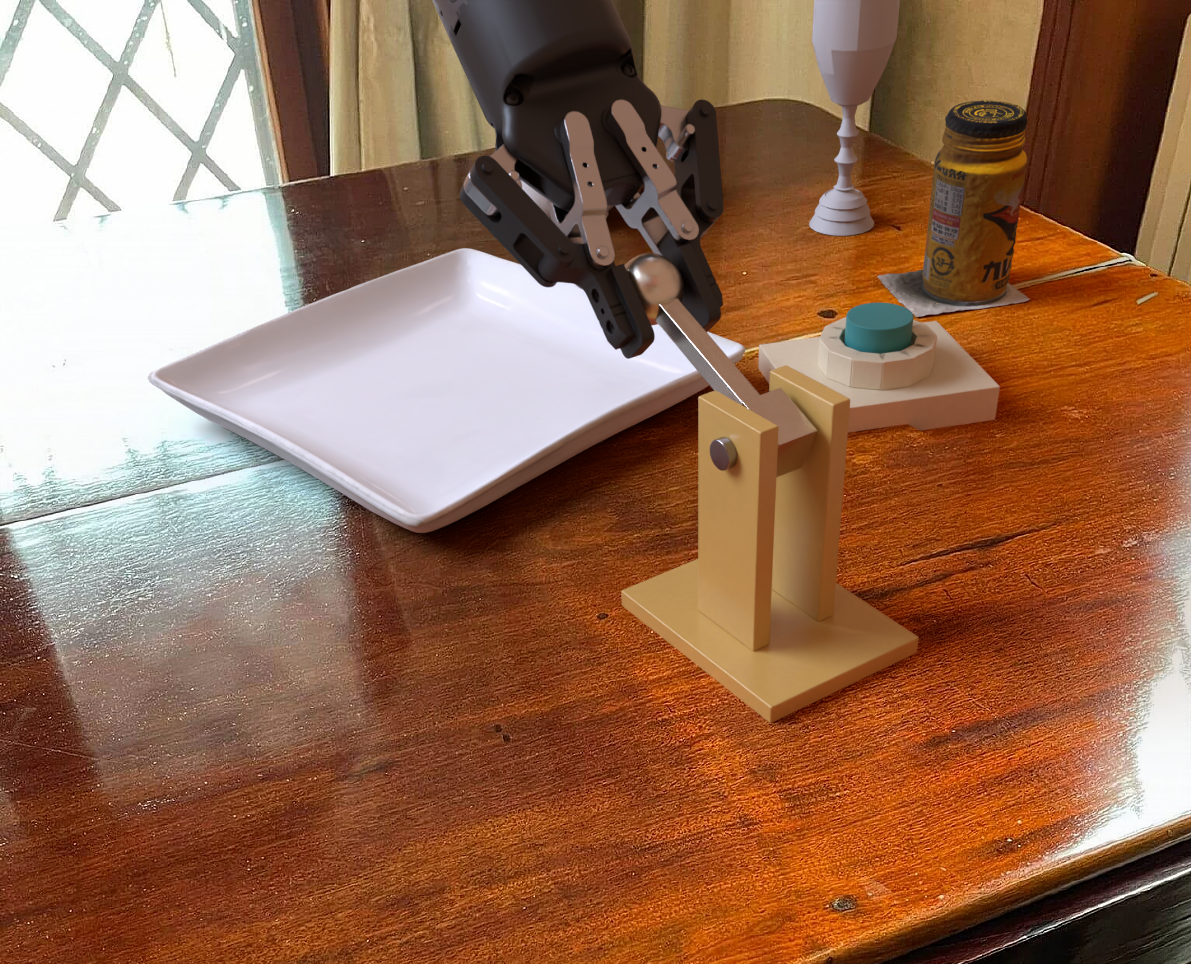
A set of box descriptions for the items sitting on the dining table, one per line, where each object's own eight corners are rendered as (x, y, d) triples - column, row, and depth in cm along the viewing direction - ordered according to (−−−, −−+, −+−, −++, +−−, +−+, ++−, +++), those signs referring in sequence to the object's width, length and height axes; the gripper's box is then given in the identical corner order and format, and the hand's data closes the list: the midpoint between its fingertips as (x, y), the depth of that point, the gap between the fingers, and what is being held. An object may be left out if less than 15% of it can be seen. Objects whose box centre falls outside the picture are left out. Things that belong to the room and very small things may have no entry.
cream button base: (932, 352, 93) (939, 293, 90) (995, 420, 85) (1004, 357, 83) (757, 376, 91) (759, 317, 89) (805, 447, 84) (809, 385, 81)
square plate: (152, 426, 90) (136, 368, 88) (471, 292, 104) (465, 239, 101) (423, 577, 75) (413, 513, 73) (753, 397, 89) (755, 338, 87)
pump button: (896, 326, 88) (899, 298, 86) (920, 352, 85) (923, 324, 84) (835, 334, 87) (837, 307, 86) (857, 361, 84) (859, 333, 83)
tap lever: (597, 303, 67) (609, 248, 64) (652, 286, 68) (665, 231, 66) (753, 492, 63) (772, 441, 60) (808, 470, 64) (829, 419, 61)
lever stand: (621, 614, 72) (611, 379, 63) (759, 556, 75) (767, 325, 67) (769, 733, 64) (781, 483, 56) (916, 662, 68) (948, 416, 59)
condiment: (1030, 302, 98) (1059, 119, 90) (916, 319, 97) (935, 135, 89) (984, 265, 103) (1008, 88, 95) (876, 280, 102) (891, 103, 94)
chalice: (834, 247, 107) (851, -20, 95) (777, 223, 111) (787, -35, 99) (906, 224, 110) (932, -38, 98) (848, 201, 114) (866, -52, 102)
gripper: (615, 22, 71) (755, 333, 72) (367, 77, 66) (521, 414, 66) (677, -83, 64) (831, 263, 65) (405, -31, 59) (576, 346, 60)
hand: (673, 337), depth 66 cm, fingers closed on tap lever, 3 cm apart
